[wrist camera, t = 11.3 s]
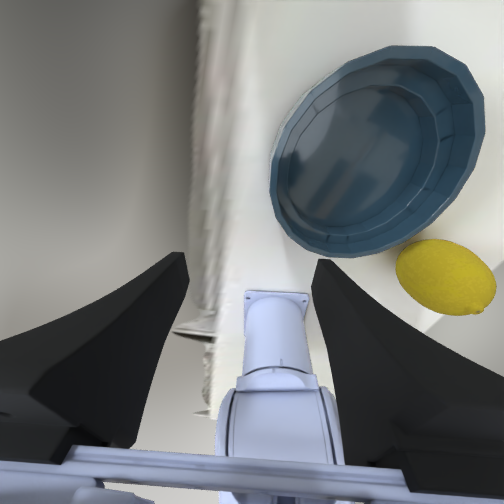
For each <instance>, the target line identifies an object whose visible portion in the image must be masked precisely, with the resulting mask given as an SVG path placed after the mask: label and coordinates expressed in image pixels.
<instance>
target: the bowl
mask: <svg viewBox="0 0 504 504" xmlns="http://www.w3.org/2000/svg"><path fill="white" fill-rule="evenodd" d="M484 135H485V111H484V96H483V94H482V92H481V90H480V89H479V87H478V85H477V83H476V81H475V80H474V78H473V76H472V74H471V73H470V71H469V69H468V67H467V66H466V65H465V64H464V63H462V62H460V61H459V60H457V59H455V58H453V57H452V56H450V55H448V54H446V53H445V52H443V51H441V50H439V49H437V48H436V47H432V46H398V45H392V46H388V47H385V48H382V49H380V50H377V51H375V52H372V53H369V54H367V55H364V56H361V57H359V58H356V59H354V60H351V61H348V62H347V63H345V64H343V65H342V66H340V67H339V68H337V69H335V70H334V71H332V72H331V73H329V74H328V75H327V76H325V77H324V78H323V79H322V80H320V81H319V82H318V83H316V84H315V85H314V86H313V87H311V88H310V89H309V90H308V91H306V92H305V93H304V94H303V95H302V96H301V97H300V98H299V100H298V101H297V102H296V104H295V105H294V107H293V108H292V109H291V111H290V112H289V114H288V115H287V116H286V118H285V119H284V121H283V122H282V124H281V126H280V128H279V131H278V134H277V136H276V139H275V142H274V145H273V147H272V150H271V154H270V165H269V193H270V197H271V201H272V205H273V209H274V213H275V217H276V219H277V220H278V222H279V223H280V225H281V226H282V228H283V229H284V230H285V232H286V233H287V235H288V236H289V237H290V238H291V239H292V240H294V241H295V242H296V243H298V244H299V245H301V246H302V247H303V248H305V249H306V250H308V251H311V252H314V253H317V254H320V255H323V256H326V257H335V258H356V257H362V256H367V255H372V254H377V253H380V252H382V251H385V250H387V249H389V248H392V247H394V246H397V245H399V244H401V243H404V242H406V241H407V240H408V239H410V238H411V237H413V236H414V235H416V234H417V233H419V232H420V231H422V230H423V229H425V228H426V227H428V226H429V225H430V224H432V223H433V222H434V221H435V220H436V219H437V218H438V217H439V215H440V214H441V213H442V212H443V211H444V210H445V209H446V208H447V207H448V206H449V205H450V204H451V203H452V202H453V201H454V200H455V199H456V197H457V196H458V194H459V193H460V191H461V189H462V188H463V186H464V184H465V183H466V181H467V180H468V178H469V176H470V175H471V173H472V172H473V170H474V168H475V165H476V162H477V159H478V155H479V152H480V149H481V145H482V142H483V139H484Z"/></svg>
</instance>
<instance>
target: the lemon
mask: <svg viewBox="0 0 504 504" xmlns="http://www.w3.org/2000/svg"><path fill="white" fill-rule="evenodd" d="M396 275H397V277H398V280H399V282H400V284H401V286H402V287H403V288H404V290H405V291H406V292H407V293H408V294H409V295H410V296H411V297H412V298H413V299H415V300H416V301H417V302H418V303H420V304H421V305H423V306H424V307H426V308H428V309H430V310H432V311H435V312H437V313H441V314H446V315H454V316H462V315H469V314H480V313H482V312H483V311H484V308H485V307H487V306H488V305H489V304H490V303H491V301H492V300H493V298H494V296H495V293H496V281H495V278H494V275H493V273H492V272H491V270H490V269H489V268H488V266H487V265H486V264H485V263H484V262H483V261H482V260H481V259H480V258H479V257H478V256H477V255H475V254H474V253H473V252H472V251H470V250H468V249H467V248H465V247H463V246H461V245H458V244H456V243H453V242H450V241H446V240H439V239H429V240H422V241H418V242H415V243H413V244H411V245H409V246H408V247H406V248H405V249H404V250H403V251H402V252H401V253H400V255H399V256H398V258H397V261H396Z"/></svg>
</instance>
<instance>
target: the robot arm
mask: <svg viewBox="0 0 504 504" xmlns="http://www.w3.org/2000/svg"><path fill="white" fill-rule="evenodd" d="M189 281H190V279H189V275H188V270H187V265H186V260H185V255H184V253H183V252H172V253H170V254H169V255H167V256H166V257H165V258H163V259H162V260H160V261H159V262H157V263H156V264H155V265H153V266H152V267H150V268H149V269H148V270H146V271H145V272H143V273H142V274H140V275H139V276H137V277H136V278H134V279H133V280H131V281H129V282H128V283H126V284H125V285H123V286H122V287H120V288H118V289H117V290H115V291H113V292H112V293H110V294H108V295H106V296H104V297H102V298H101V299H99V300H97V301H95V302H93V303H91V304H89V305H87V306H85V307H83V308H81V309H78V310H77V311H74V312H72V313H70V314H68V315H66V316H63V317H61V318H59V319H56V320H54V321H52V322H49V323H47V324H44V325H42V326H39V327H37V328H34V329H32V330H29V331H27V332H24V333H21V334H18V335H15V336H13V337H10V338H7V339H4V340H2V341H0V504H155V503H154V501H151V500H147V499H143V498H141V497H138V496H136V495H135V494H134V493H131V492H124V491H118V490H110V489H105V486H104V483H103V482H112V483H125V484H138V485H150V486H162V487H175V488H188V489H201V490H213V491H219V504H355V502H363V503H364V504H504V377H503V376H501V375H499V374H497V373H495V372H493V371H491V370H489V369H487V368H485V367H483V366H481V365H478V364H477V363H475V362H473V361H471V360H469V359H467V358H465V357H463V356H461V355H459V354H458V353H456V352H454V351H452V350H451V349H449V348H447V347H445V346H443V345H442V344H440V343H438V342H436V341H435V340H433V339H431V338H430V337H428V336H426V335H425V334H423V333H422V332H420V331H418V330H417V329H415V328H414V327H412V326H411V325H409V324H407V323H406V322H404V321H403V320H402V319H400V318H399V317H397V316H396V315H394V314H393V313H392V312H390V311H389V310H388V309H386V308H385V307H383V306H382V305H381V304H380V303H378V302H377V301H376V300H375V299H373V298H372V297H371V296H370V295H369V294H367V293H366V292H365V291H364V290H363V289H361V288H360V287H359V286H358V285H357V284H356V283H355V282H354V281H353V280H352V279H351V278H349V277H348V276H347V275H346V274H345V273H344V272H343V271H342V270H341V269H340V268H339V267H338V266H337V265H336V264H335V263H334V262H333V261H332V260H330V259H318V263H317V266H316V270H315V274H314V278H313V281H312V285H311V290H312V297H313V303H314V307H315V310H316V314H317V317H318V320H319V324H320V327H321V330H322V334H323V337H324V340H325V344H326V348H327V352H328V357H329V362H330V367H331V372H332V378H333V384H334V389H335V395H336V399H335V397H334V395H333V394H332V393H331V392H330V391H329V390H328V389H327V388H326V387H325V386H318V381H317V376H316V375H315V374H313V370H312V365H311V360H310V354H309V349H308V344H307V338H306V333H305V328H304V323H303V320H304V316H305V313H306V309H307V305H308V302H309V295H308V294H299V293H280V292H261V291H246V292H245V294H244V336H245V347H244V359H243V371H242V376H240V377H237V383H236V388H232V389H230V390H229V391H228V393H227V395H226V396H225V397H224V399H223V401H222V403H221V406H220V409H219V414H218V419H217V425H216V435H215V455H201V454H188V453H175V452H161V451H148V450H135V449H129V448H130V447H132V445H133V444H134V443H135V442H136V439H137V435H138V430H139V427H140V423H141V419H142V415H143V411H144V407H145V404H146V400H147V397H148V393H149V390H150V386H151V383H152V380H153V376H154V373H155V370H156V367H157V364H158V360H159V358H160V355H161V352H162V349H163V345H164V343H165V340H166V338H167V335H168V333H169V331H170V329H171V326H172V324H173V322H174V320H175V318H176V316H177V313H178V311H179V309H180V307H181V305H182V302H183V300H184V298H185V295H186V292H187V289H188V285H189ZM248 297H250V298H248ZM303 300H304V301H303Z"/></svg>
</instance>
